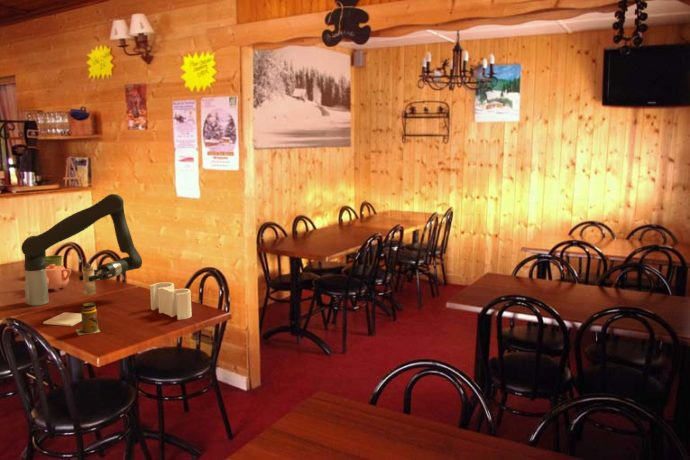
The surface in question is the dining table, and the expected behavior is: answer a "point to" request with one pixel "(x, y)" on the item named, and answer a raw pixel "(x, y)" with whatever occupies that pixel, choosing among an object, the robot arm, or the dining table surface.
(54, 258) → the plant pot
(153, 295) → the cream triple cylinder
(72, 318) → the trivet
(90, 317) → the condiment
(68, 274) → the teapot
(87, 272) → the pepper mill
